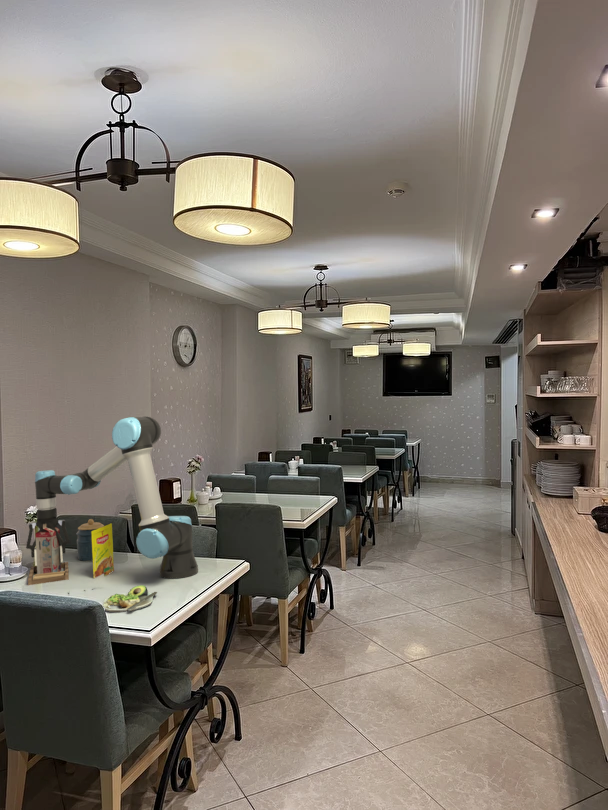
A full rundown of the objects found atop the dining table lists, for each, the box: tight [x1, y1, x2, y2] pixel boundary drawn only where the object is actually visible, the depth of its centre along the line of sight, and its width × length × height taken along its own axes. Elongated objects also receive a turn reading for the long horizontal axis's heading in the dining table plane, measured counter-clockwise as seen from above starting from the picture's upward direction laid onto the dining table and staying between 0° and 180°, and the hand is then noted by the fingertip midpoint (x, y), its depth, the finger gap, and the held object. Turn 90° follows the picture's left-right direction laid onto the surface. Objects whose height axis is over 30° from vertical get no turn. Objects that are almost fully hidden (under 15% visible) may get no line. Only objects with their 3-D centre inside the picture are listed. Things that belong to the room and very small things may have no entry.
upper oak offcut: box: [33, 570, 65, 580], centre depth 233 cm, size 5×11×2 cm, turn 107°
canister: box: [75, 518, 105, 562], centre depth 271 cm, size 13×13×18 cm
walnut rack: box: [27, 561, 70, 586], centre depth 238 cm, size 21×14×4 cm
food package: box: [91, 522, 115, 579], centre depth 239 cm, size 15×1×20 cm, turn 168°
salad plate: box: [102, 584, 158, 613], centre depth 202 cm, size 19×18×5 cm
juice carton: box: [35, 524, 62, 574], centre depth 242 cm, size 7×7×22 cm
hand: (49, 563), depth 242 cm, fingers closed on juice carton, 9 cm apart
